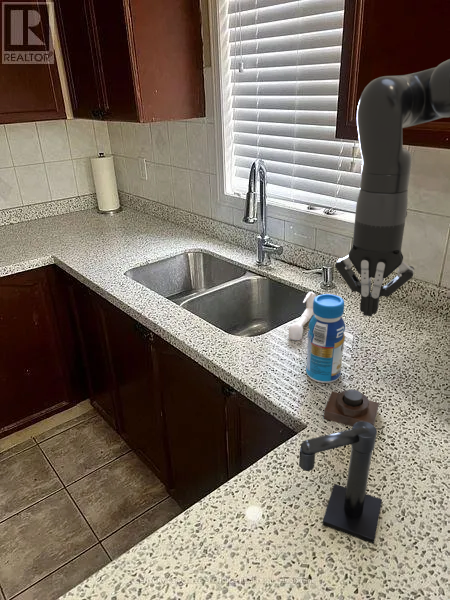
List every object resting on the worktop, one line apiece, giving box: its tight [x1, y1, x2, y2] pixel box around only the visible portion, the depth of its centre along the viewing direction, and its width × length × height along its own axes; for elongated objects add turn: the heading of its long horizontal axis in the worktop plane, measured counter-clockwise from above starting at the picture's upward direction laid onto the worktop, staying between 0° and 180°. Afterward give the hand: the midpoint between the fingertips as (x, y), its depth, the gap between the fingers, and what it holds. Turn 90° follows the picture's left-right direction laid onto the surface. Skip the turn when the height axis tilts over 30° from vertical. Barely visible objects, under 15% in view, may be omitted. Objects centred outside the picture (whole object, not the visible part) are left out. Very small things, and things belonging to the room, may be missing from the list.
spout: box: [298, 421, 378, 472], centre depth 65 cm, size 12×3×4 cm, turn 106°
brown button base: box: [323, 389, 380, 428], centre depth 94 cm, size 10×7×4 cm
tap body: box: [322, 446, 383, 545], centre depth 70 cm, size 8×8×15 cm
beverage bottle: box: [305, 293, 346, 384], centre depth 103 cm, size 8×8×20 cm
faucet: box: [288, 291, 317, 341], centre depth 127 cm, size 4×18×10 cm, turn 153°
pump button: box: [344, 388, 363, 407], centre depth 93 cm, size 4×4×2 cm
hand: (368, 314), depth 78 cm, fingers closed
